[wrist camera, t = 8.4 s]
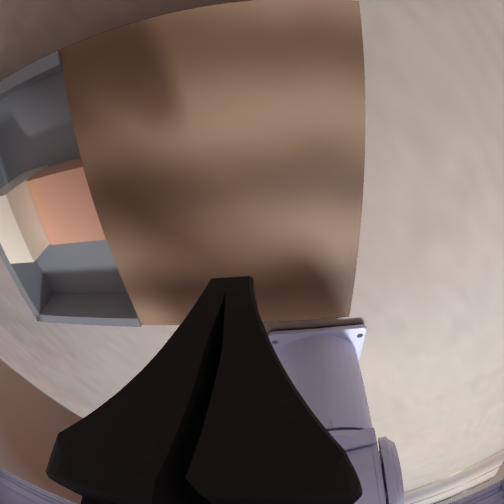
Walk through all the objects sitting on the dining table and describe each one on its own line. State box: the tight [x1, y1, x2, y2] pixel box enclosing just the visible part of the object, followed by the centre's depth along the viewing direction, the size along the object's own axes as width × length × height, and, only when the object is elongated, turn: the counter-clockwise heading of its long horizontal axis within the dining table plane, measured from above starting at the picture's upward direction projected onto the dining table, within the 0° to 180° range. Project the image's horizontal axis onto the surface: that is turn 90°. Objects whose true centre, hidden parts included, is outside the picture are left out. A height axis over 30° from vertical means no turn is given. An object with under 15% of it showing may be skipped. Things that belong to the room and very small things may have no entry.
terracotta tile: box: [27, 158, 106, 245], centre depth 17 cm, size 4×4×2 cm
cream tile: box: [0, 165, 50, 264], centre depth 16 cm, size 4×4×2 cm
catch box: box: [0, 50, 142, 327], centre depth 17 cm, size 18×10×3 cm, turn 6°
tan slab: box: [60, 0, 365, 325], centre depth 16 cm, size 18×14×3 cm
